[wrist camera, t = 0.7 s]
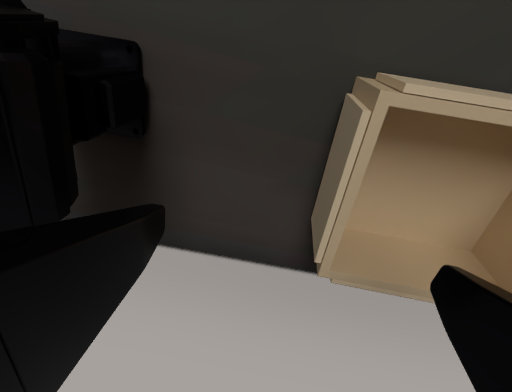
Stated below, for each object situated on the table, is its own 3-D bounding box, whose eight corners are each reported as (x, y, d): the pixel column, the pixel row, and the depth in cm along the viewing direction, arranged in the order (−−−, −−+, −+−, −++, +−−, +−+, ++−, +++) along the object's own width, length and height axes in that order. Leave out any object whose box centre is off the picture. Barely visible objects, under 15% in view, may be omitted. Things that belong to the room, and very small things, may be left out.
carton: (306, 227, 24) (309, 279, 19) (351, 67, 18) (374, 77, 12) (468, 258, 23) (517, 321, 18) (572, 103, 17) (694, 130, 12)
